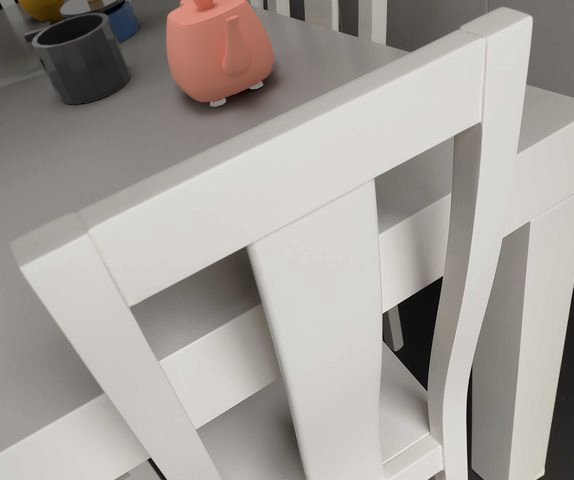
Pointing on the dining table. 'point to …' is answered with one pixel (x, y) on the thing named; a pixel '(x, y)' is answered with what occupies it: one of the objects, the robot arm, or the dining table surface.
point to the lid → (86, 7)
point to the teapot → (217, 48)
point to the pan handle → (33, 34)
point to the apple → (43, 9)
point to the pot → (82, 58)
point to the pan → (123, 20)
